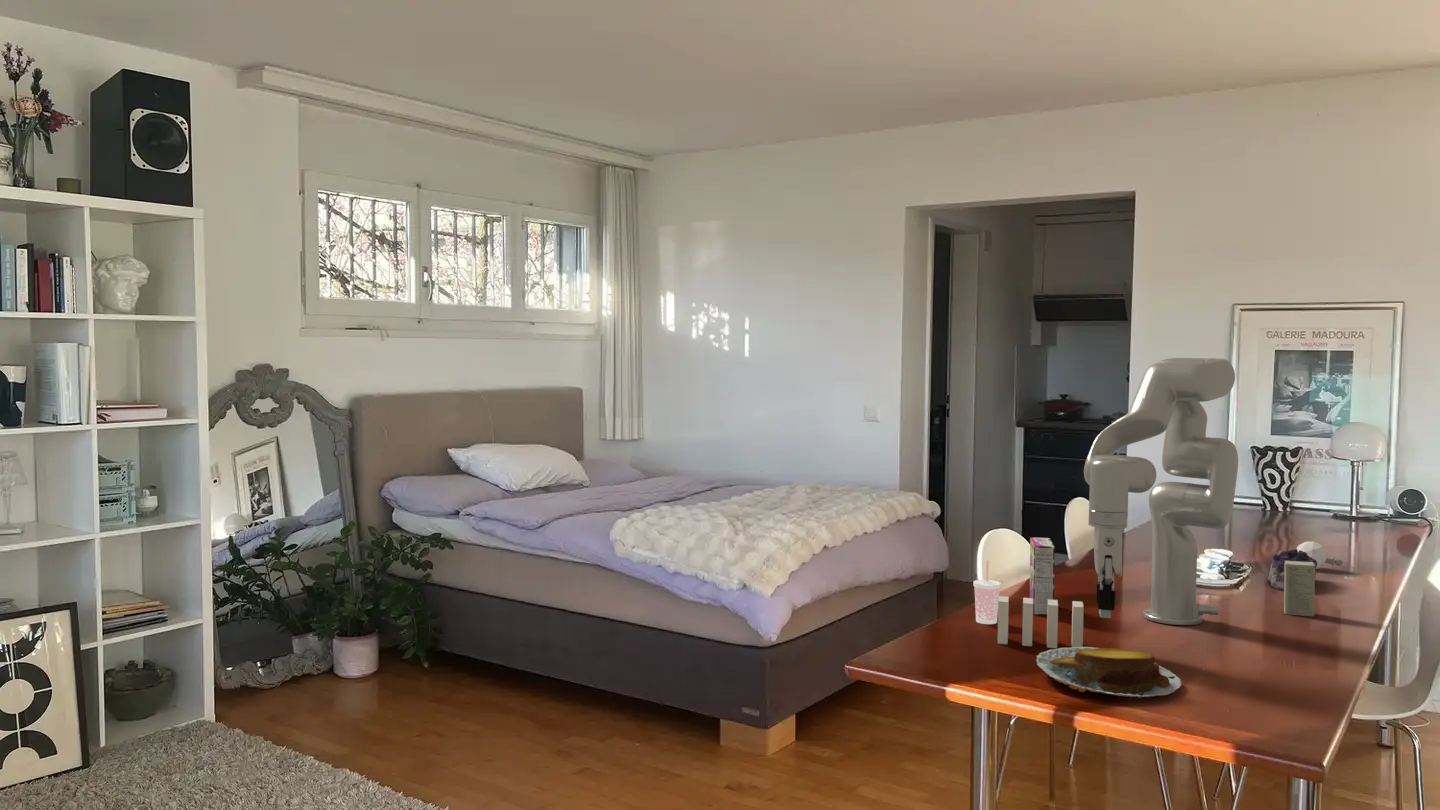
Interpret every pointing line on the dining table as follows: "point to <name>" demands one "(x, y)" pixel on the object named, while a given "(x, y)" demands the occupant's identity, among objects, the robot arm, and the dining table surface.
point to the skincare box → (1299, 588)
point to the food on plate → (1108, 671)
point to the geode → (1279, 566)
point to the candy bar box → (1041, 573)
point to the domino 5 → (1105, 612)
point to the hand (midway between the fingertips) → (1105, 605)
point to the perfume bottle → (1318, 554)
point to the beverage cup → (986, 599)
